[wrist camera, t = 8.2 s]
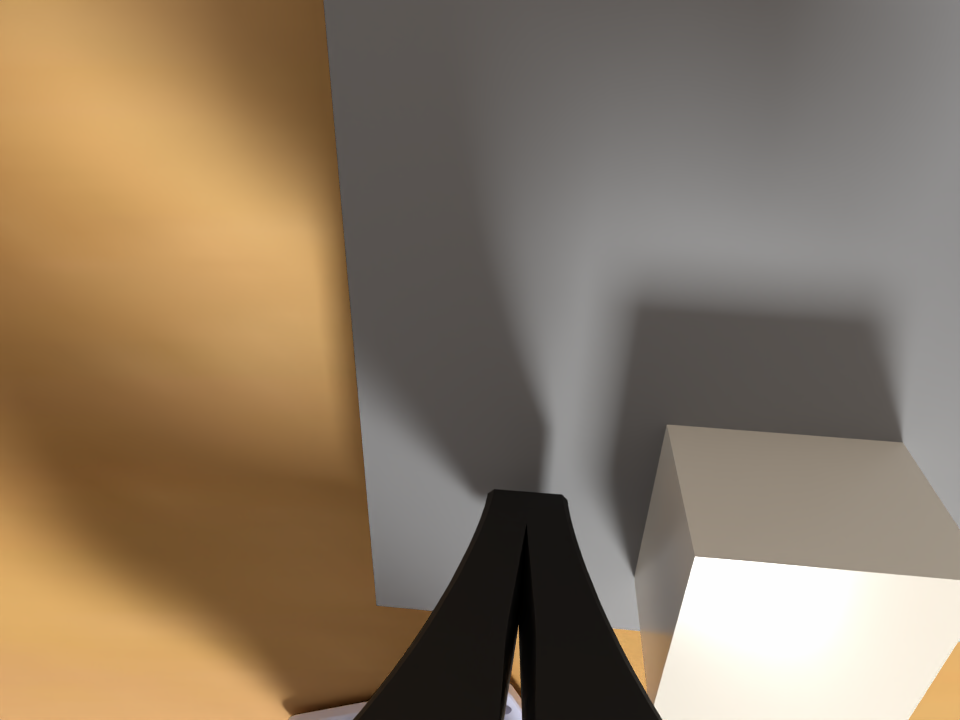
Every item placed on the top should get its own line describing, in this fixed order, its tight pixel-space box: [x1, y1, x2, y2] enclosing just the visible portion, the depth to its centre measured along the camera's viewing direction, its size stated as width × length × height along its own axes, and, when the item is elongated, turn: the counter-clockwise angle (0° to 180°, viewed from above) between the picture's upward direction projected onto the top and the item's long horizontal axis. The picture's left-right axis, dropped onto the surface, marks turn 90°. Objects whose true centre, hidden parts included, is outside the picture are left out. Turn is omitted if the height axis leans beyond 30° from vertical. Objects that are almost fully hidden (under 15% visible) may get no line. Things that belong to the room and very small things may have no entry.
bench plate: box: [324, 0, 960, 631], centre depth 13 cm, size 12×13×2 cm
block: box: [634, 425, 960, 720], centre depth 12 cm, size 4×4×3 cm
